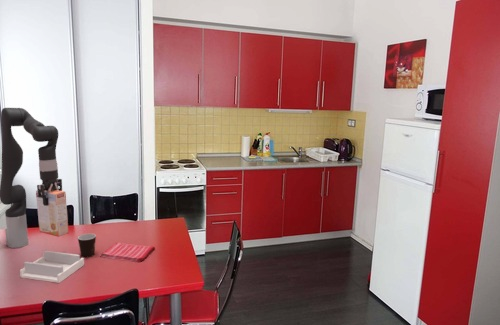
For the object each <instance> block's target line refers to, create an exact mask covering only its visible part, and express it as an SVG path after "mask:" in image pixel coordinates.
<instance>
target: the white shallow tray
mask: <svg viewBox="0 0 500 325" xmlns="http://www.w3.org/2000/svg"><path fill="white" fill-rule="evenodd" d="M42 253H43V255H42V256H41V257H39V258H38V259H36V260H34V261H33V262H32V261H24V262H23V265H24V267H23V268H21V269H19V277H20V278H21V279H29V280H30V279H31V280H35V281H36V280H37V281H41V282H42V281H44V282H52V283H58V284H60V283H62V282H63V281H64V280H65V279H67V278H68V277H70V276H71V275H72V274H73V273H75V272H77V271H78V270H79V269H81V268H82V267H83V266H85V257H81V254H76V253H67V252H58V251H52V250H51V251H50V250H43V252H42Z"/></svg>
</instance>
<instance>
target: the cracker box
mask: <svg viewBox="0 0 500 325" xmlns="http://www.w3.org/2000/svg"><path fill="white" fill-rule="evenodd" d="M45 191H46V190H45ZM41 195H42V193H41ZM45 195H46V193H45ZM35 196H36V197H35V198H36V207H37V216H38V228H39V229H38V230H39V233H42V234H45V235H50V236H54V237H57V238H59V237H62V236H64V235H68V234H69V232H70V231H69V223H68V222H69V221H68V209H67V197H66V196H67V195H66V191H64V190H62V191H59V190H51V191H50V193H48V203H49V205H48V206H44V205H43V198H39V197H38V190H35Z"/></svg>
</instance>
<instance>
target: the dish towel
mask: <svg viewBox="0 0 500 325" xmlns="http://www.w3.org/2000/svg"><path fill="white" fill-rule="evenodd" d="M155 250H156V247H155V246H148V245H140V244H139V245H138V244H130V243H129V244H128V243H122V242H115V243H114V244H113V245H112V246H110V247H109V248H108V249H106V250H105V251H104V252H102V253H101V254H100V256H99V257H100V258H106V259H112V260H119V261H127V262H135V263H136V262H138V263H141V262H142V261H144V260H145V259H146V257H148V256H150V255H151V253H152V252H154V251H155Z"/></svg>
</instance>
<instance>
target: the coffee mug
mask: <svg viewBox="0 0 500 325" xmlns="http://www.w3.org/2000/svg"><path fill="white" fill-rule="evenodd" d="M96 238H97V235H96V234H95V233H83V234H81V235H79V236H77V241H78V246H79V251H80V257H81V258H91V257H93V256H95V253H96V251H95V250H96V241H97V239H96Z"/></svg>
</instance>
